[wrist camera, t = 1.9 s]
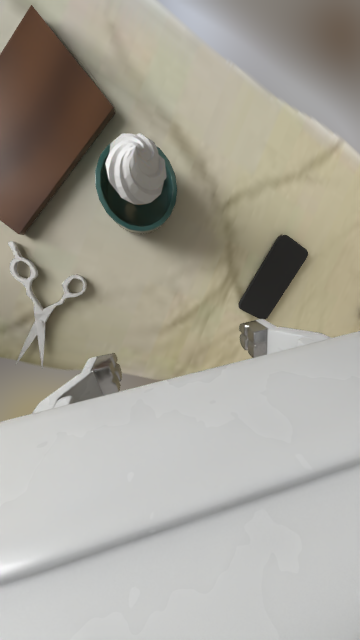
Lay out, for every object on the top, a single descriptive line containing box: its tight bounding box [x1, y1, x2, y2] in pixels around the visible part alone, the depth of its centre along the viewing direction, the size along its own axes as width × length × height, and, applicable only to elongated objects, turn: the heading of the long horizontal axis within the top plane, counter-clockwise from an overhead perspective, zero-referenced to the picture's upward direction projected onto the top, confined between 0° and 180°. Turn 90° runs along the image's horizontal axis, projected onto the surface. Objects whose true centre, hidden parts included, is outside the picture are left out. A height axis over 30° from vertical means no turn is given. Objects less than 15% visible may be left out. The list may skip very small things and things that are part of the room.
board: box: [0, 5, 115, 235], centre depth 23 cm, size 10×20×1 cm, turn 135°
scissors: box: [8, 241, 87, 368], centre depth 30 cm, size 11×1×20 cm
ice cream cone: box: [105, 133, 167, 205], centre depth 20 cm, size 6×6×15 cm
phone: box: [239, 235, 308, 319], centre depth 36 cm, size 7×1×15 cm
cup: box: [95, 143, 177, 234], centre depth 25 cm, size 10×10×6 cm
